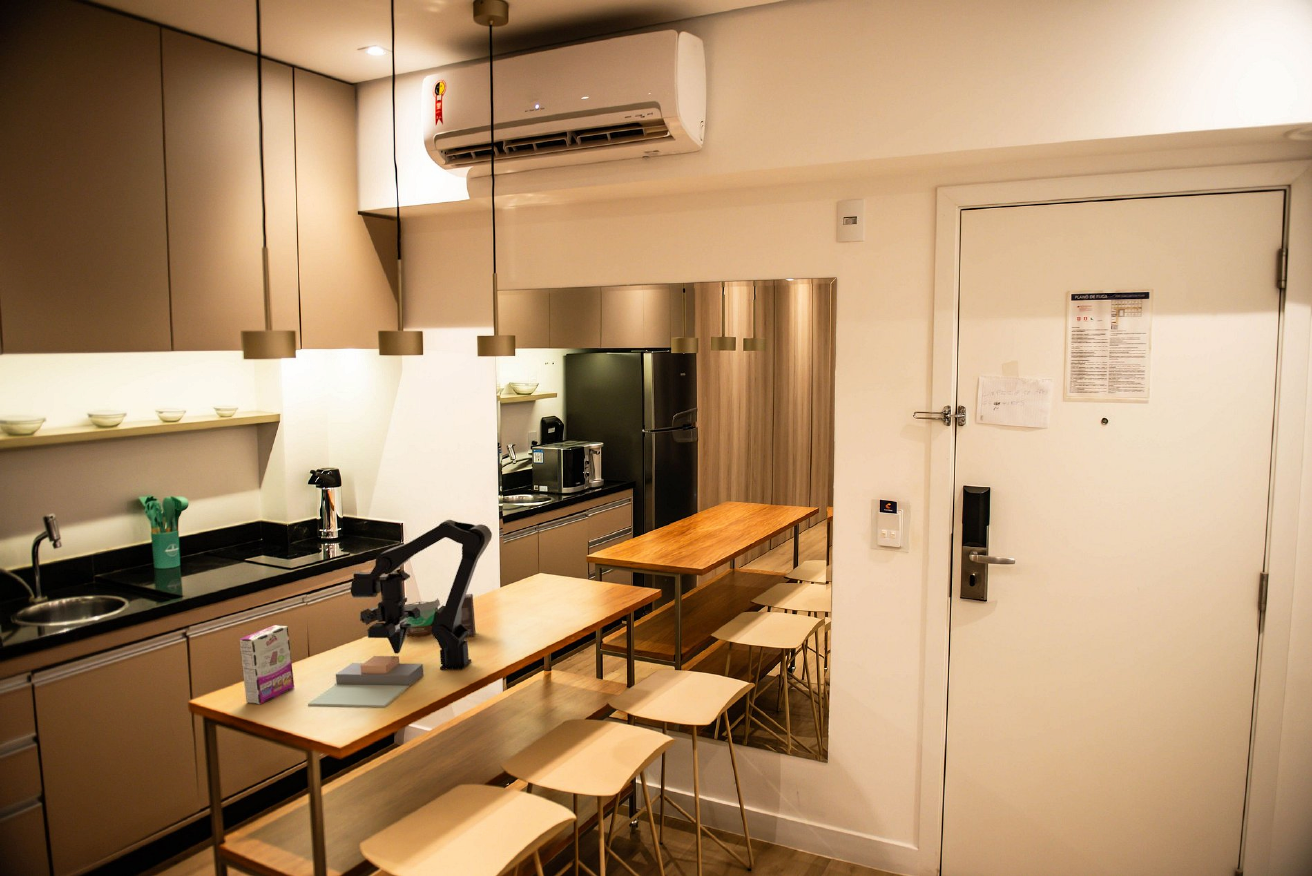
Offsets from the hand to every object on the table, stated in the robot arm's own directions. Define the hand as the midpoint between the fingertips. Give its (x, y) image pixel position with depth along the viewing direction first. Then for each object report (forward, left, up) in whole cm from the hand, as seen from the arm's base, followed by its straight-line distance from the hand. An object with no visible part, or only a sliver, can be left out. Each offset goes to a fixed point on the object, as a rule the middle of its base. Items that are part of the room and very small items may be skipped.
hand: (397, 653), depth 224 cm
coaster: (0, +9, -1) cm, 9 cm away
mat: (0, +20, -4) cm, 20 cm away
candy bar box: (+24, +21, -4) cm, 32 cm away
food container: (+6, -26, -4) cm, 27 cm away
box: (-8, -26, -4) cm, 28 cm away
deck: (0, +10, -4) cm, 10 cm away
